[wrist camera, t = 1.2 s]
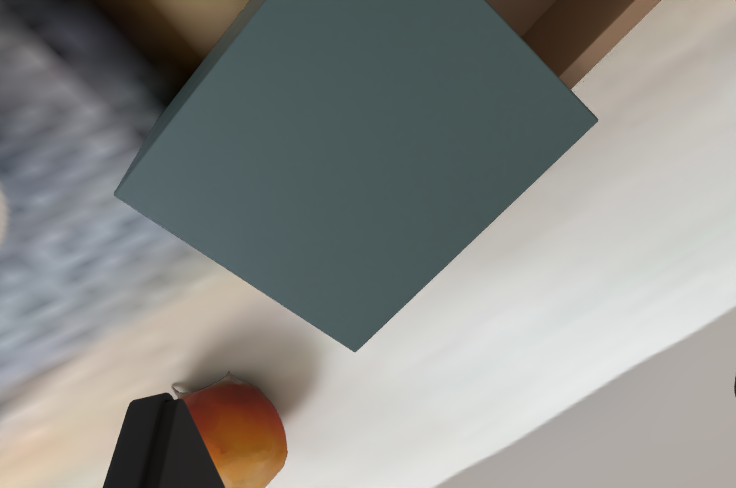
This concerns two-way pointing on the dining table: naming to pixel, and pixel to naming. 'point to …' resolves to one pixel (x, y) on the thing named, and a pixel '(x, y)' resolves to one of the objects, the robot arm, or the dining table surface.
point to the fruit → (239, 431)
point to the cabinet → (352, 149)
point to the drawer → (572, 29)
